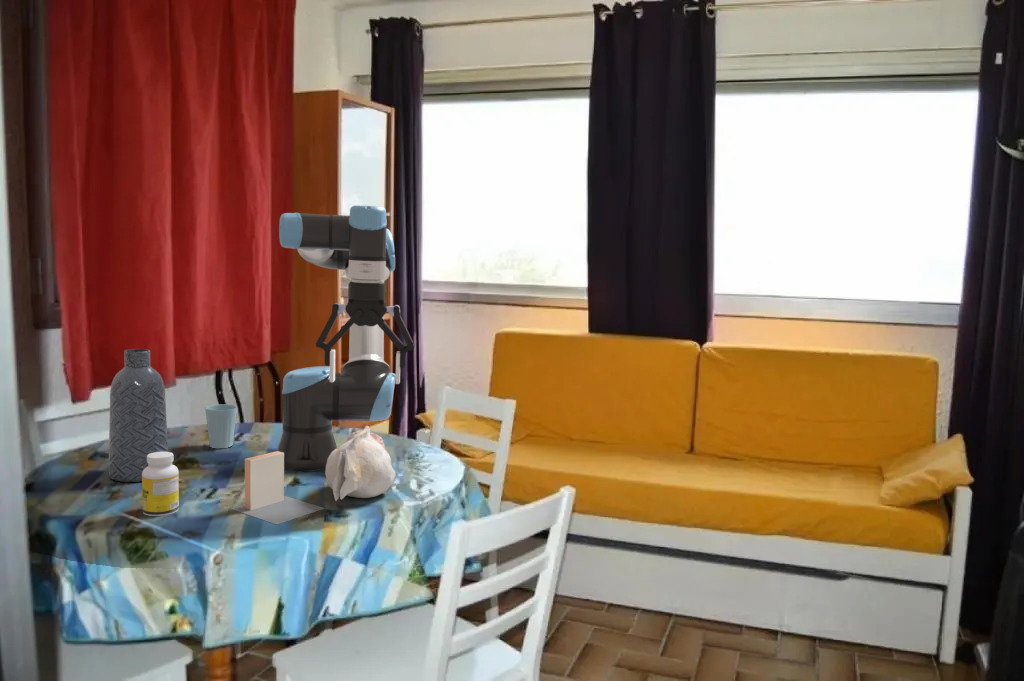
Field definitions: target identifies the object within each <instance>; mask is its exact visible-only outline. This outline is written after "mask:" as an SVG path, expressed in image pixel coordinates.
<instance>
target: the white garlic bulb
mask: <svg viewBox="0 0 1024 681" xmlns="http://www.w3.org/2000/svg"><path fill="white" fill-rule="evenodd" d="M324 472H325V479H326V482H327V484H328V486H329V487H330V488H331V489H332V494H333V496H334V497H333V498H334V500H335V502H337V500H339V499H340V500H343V499H344V498H345V497H346V496H347V497H350V498H351V497H353V498H356V499H369V498H375V497H378V496H380V495H382V494H383V493H385V492H387V490H389V488H390V487H391V486H392V484H393V482H394V481H395V479H396V476H397V475H396V474H397V473H396V471H395V469H394V468H393V466H392V459H391V456H390V454H389V452H388V451H387V448H386V446H385V442H384V439H383V437H381V436H379V435H378V434H377V433H374V432H371V428H370V426H368V425H365V426H364V428H363V429H362V430H356V431H355V432H352V433H350V434H349V436H348V437H347V439H346V440H345V442H344V443H342V444H341V445H340V446H339V447H337V449H335V450H334V451H333V452H331V454H330V455H329V457H328V459H327V464H326V469H325V471H324Z"/></svg>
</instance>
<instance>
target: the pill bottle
mask: <svg viewBox="0 0 1024 681" xmlns="http://www.w3.org/2000/svg"><path fill="white" fill-rule="evenodd" d="M174 458H175V457H174V453H173V452H171V451H168V452H154V453H150V454H148V455H147V463H148V467H146V468H145V469H144V470H143V472H142V481H141V487H142V488H141V493H142V496H141V497H142V498H141V499H142V504H141V505H142V513H143V515H145V516H149V517H160V516H161V517H162V516H167V515H168V516H169V515H171V514H174V513H176V512H179V509H180V503H179V498H180V497H179V496H180V494H179V491H180V490H179V488H180V486H179V481H180V480H179V479H180V478H179V475H180V474H179V473H180V472H179V469H178V467H177V466H176V465H174V464H173V462H174Z"/></svg>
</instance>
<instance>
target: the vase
mask: <svg viewBox="0 0 1024 681" xmlns="http://www.w3.org/2000/svg"><path fill="white" fill-rule="evenodd" d="M123 352H124V353H123V354H124V357H123V358H124V359H123V360H124V367H123V368H122V369H121V370H119V371H118V372H117V373H116V374H115V376H114V377H113V379H112V382H111V384H110V385H111V386H110V392H109V422H108V424H109V428H108V429H109V431H108V432H109V434H108V475H109V478H110V479H112V480H113V481H117V482H122V483H123V482H124V483H138V482H140V483H142V472H143V470H144V469H145V468H146V467H148V463H147V455H148V454H150V453H154V452H169V442H168V441H169V440H168V418H167V403H166V388H165V384H164V380H163V377H162V376H161V374H160V373H159V372H158V371H157V370H156V369H154V368H153V367H152V366H151V350H150V349H145V348H130V349H125V350H124V351H123Z"/></svg>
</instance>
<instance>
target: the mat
mask: <svg viewBox="0 0 1024 681" xmlns="http://www.w3.org/2000/svg"><path fill="white" fill-rule="evenodd" d="M325 509H326V508H325V507H323V506H318V505H316V504H312V503H309V502H305V501H303V500H299V499H297V498H293V497H289V496H286V495H284V500H283V501H280V502H277V503H274V504H270V505H267V506H264V507H260V508H257V509H254V510H249V509H246V508H245V503H244V504H240V505H237V506H234V507H230V508H229V510H232V511H235V512H238V513H242V514H244V515H246V516H247V515H248V516H250V517H252V518H255V519H259V520H262V521H265V522H267V523H271V524H273V525H277V526H278V525H280V524H283V523H286V522H289V521H291V520H295V519H299V518H301V517H305V516H307V515H311V514H313V513H315V512H318V511H319V512H320V511H322V510H325Z"/></svg>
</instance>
